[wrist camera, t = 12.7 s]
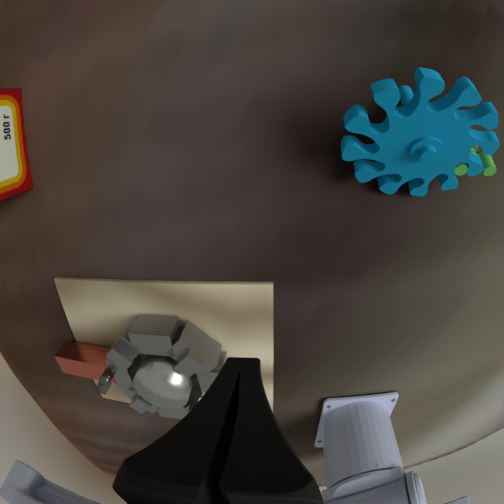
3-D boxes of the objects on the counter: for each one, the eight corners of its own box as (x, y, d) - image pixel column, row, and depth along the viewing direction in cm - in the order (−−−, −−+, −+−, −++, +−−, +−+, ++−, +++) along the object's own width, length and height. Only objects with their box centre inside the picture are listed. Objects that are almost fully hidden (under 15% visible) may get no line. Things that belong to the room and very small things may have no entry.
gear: (315, 184, 18) (396, 51, 8) (312, 118, 20) (365, 2, 11) (448, 218, 19) (540, 144, 10) (432, 157, 21) (501, 80, 12)
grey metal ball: (202, 380, 26) (193, 412, 23) (155, 375, 27) (142, 404, 23) (194, 341, 24) (182, 374, 21) (143, 337, 25) (126, 367, 21)
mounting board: (272, 415, 28) (271, 440, 25) (103, 394, 30) (92, 414, 27) (273, 281, 22) (272, 306, 19) (56, 276, 24) (35, 293, 21)
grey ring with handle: (221, 317, 23) (213, 347, 19) (234, 403, 27) (229, 432, 23) (53, 307, 24) (32, 327, 21) (87, 383, 28) (74, 404, 25)
